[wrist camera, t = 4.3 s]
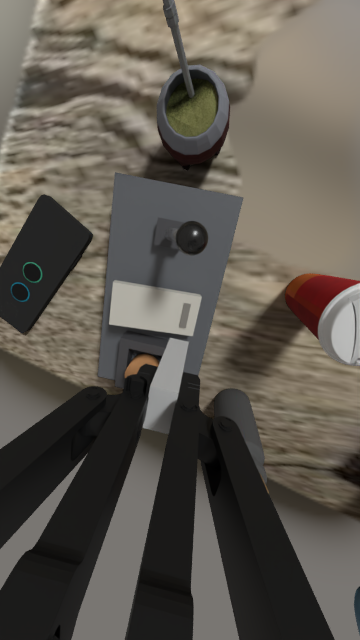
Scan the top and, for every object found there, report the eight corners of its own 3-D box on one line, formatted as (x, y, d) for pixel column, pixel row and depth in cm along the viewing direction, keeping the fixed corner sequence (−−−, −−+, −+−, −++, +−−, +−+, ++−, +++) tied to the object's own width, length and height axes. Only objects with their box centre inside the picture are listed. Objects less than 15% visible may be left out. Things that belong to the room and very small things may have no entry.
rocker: (200, 294, 28) (202, 297, 27) (191, 332, 30) (193, 336, 28) (114, 280, 26) (112, 282, 25) (110, 320, 28) (108, 325, 27)
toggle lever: (182, 224, 24) (217, 224, 16) (178, 247, 25) (208, 260, 17) (160, 219, 24) (183, 217, 15) (156, 243, 25) (176, 254, 16)
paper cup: (327, 323, 33) (408, 378, 20) (271, 317, 33) (314, 367, 20) (344, 267, 30) (451, 287, 17) (283, 261, 31) (342, 276, 18)
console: (237, 204, 29) (247, 193, 22) (194, 378, 38) (191, 410, 31) (129, 183, 30) (105, 165, 23) (111, 359, 39) (89, 386, 31)
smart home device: (-21, 301, 36) (40, 190, 30) (-12, 298, 38) (48, 193, 32) (23, 335, 37) (91, 236, 31) (31, 331, 39) (97, 236, 33)
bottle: (215, 418, 40) (221, 514, 26) (212, 389, 38) (215, 475, 24) (250, 416, 39) (276, 515, 25) (248, 386, 37) (274, 475, 23)
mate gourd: (209, 184, 29) (213, 131, 15) (151, 158, 29) (97, 77, 15) (237, 115, 26) (274, -28, 12) (174, 85, 26) (136, -96, 12)
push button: (163, 357, 29) (159, 366, 27) (158, 383, 31) (154, 395, 28) (132, 350, 30) (126, 359, 27) (128, 376, 31) (122, 387, 29)
